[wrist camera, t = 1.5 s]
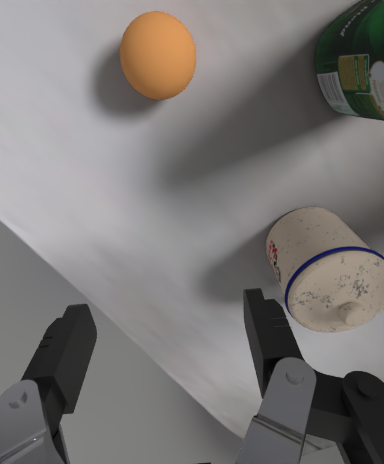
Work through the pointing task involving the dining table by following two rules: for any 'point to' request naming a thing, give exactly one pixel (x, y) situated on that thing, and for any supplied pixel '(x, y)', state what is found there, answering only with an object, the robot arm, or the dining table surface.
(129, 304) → the dining table surface
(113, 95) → the dining table surface
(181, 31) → the ball
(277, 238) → the teacup with lid
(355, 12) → the coffee jar
